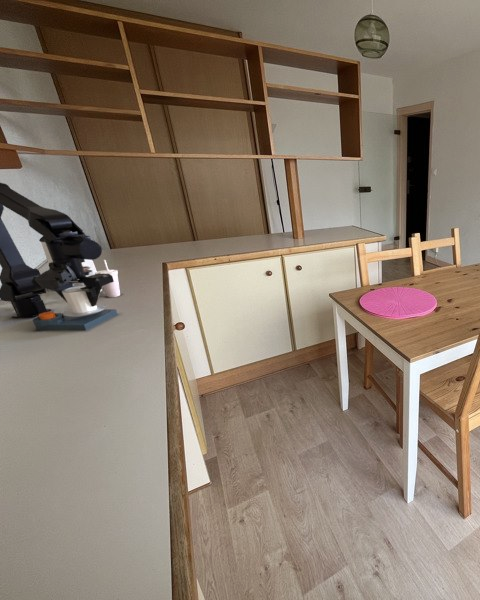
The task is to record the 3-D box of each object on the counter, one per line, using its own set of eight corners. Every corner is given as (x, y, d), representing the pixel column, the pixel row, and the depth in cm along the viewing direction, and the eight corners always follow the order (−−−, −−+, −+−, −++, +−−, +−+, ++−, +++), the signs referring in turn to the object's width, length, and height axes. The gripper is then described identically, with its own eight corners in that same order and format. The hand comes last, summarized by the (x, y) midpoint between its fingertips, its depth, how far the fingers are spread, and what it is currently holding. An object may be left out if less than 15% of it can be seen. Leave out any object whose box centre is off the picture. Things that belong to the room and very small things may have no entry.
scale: (30, 332, 92) (26, 321, 90) (72, 314, 104) (68, 304, 103) (83, 332, 93) (78, 321, 91) (117, 314, 105) (114, 304, 103)
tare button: (37, 320, 92) (35, 315, 91) (47, 316, 95) (45, 311, 94) (48, 320, 92) (46, 315, 92) (59, 316, 95) (57, 311, 95)
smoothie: (128, 294, 122) (118, 259, 117) (110, 299, 117) (98, 263, 112) (117, 292, 124) (106, 257, 119) (98, 297, 119) (86, 261, 114)
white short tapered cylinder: (81, 314, 95) (73, 293, 92) (63, 312, 96) (55, 291, 93) (105, 306, 101) (98, 286, 98) (88, 304, 102) (81, 284, 100)
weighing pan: (53, 317, 94) (52, 316, 93) (82, 304, 103) (82, 303, 103) (88, 317, 94) (87, 316, 94) (114, 304, 103) (114, 303, 103)
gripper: (0, 263, 84) (24, 316, 90) (73, 264, 85) (92, 316, 91) (42, 254, 95) (61, 302, 100) (107, 255, 96) (122, 302, 101)
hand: (83, 306), depth 98 cm, fingers closed on white short tapered cylinder, 6 cm apart
